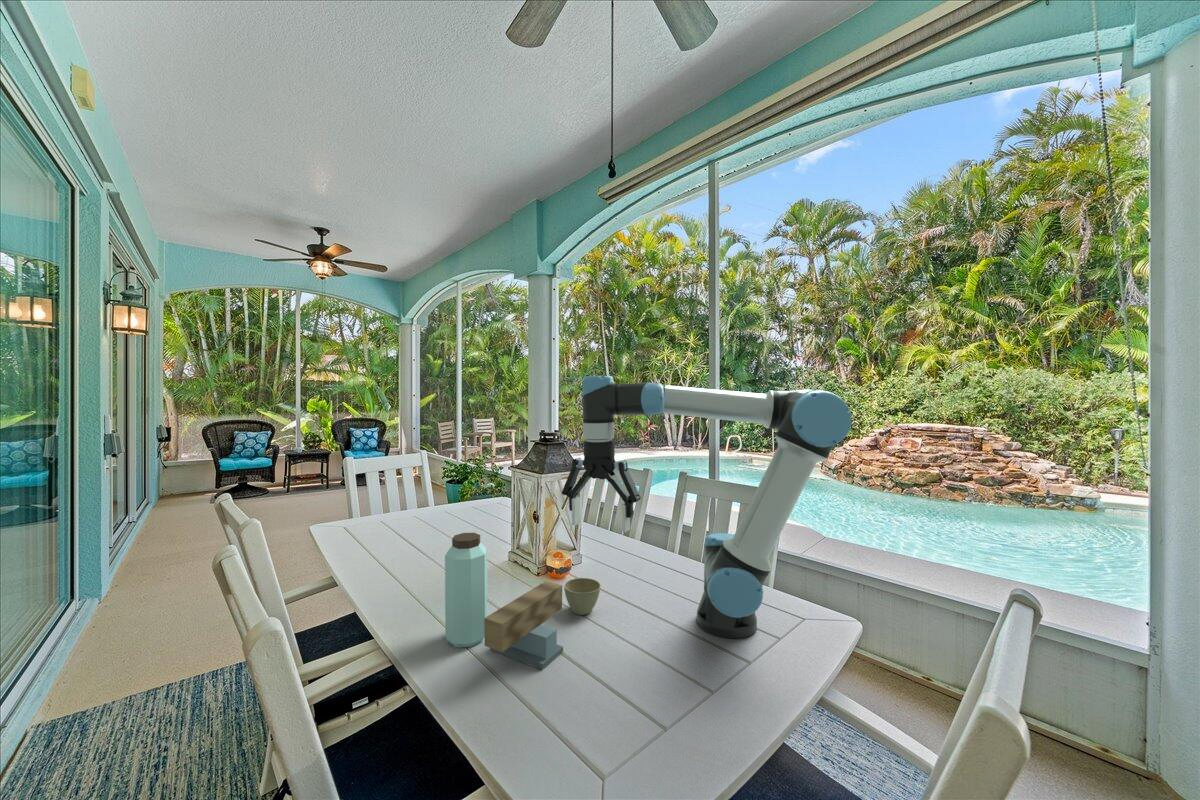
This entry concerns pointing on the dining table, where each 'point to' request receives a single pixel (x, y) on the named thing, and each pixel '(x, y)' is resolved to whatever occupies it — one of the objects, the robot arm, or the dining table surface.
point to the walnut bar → (522, 616)
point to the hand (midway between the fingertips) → (600, 527)
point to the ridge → (535, 647)
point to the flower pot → (582, 594)
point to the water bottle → (465, 590)
